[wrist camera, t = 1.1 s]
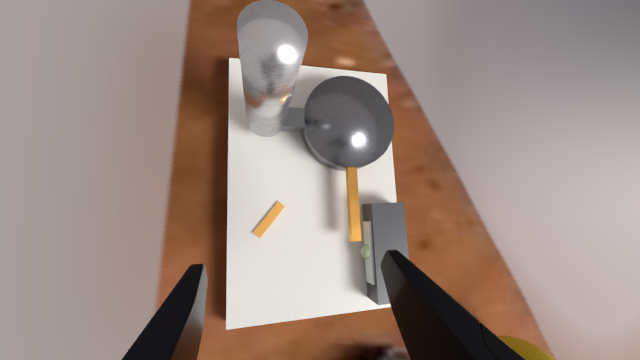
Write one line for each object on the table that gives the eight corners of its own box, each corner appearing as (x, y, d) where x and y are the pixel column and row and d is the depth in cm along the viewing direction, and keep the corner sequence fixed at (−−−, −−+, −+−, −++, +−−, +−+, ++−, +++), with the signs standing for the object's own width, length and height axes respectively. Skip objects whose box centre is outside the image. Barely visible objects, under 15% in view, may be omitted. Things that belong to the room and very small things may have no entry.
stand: (395, 299, 24) (418, 312, 21) (228, 321, 20) (222, 342, 17) (379, 82, 27) (396, 62, 24) (230, 67, 23) (226, 42, 20)
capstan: (391, 236, 23) (510, 253, 12) (246, 246, 20) (235, 279, 9) (379, 90, 25) (473, -7, 14) (247, 79, 22) (237, -57, 11)
